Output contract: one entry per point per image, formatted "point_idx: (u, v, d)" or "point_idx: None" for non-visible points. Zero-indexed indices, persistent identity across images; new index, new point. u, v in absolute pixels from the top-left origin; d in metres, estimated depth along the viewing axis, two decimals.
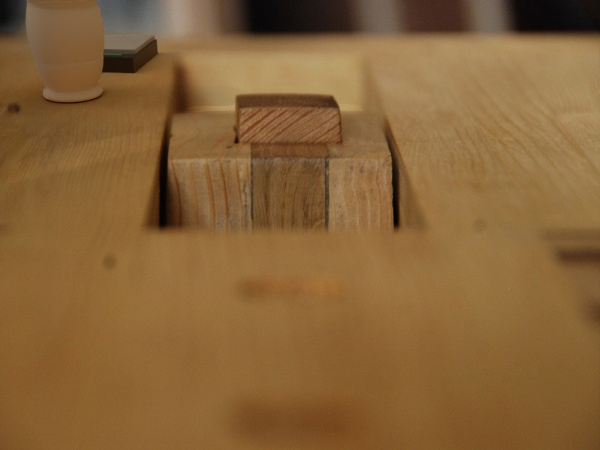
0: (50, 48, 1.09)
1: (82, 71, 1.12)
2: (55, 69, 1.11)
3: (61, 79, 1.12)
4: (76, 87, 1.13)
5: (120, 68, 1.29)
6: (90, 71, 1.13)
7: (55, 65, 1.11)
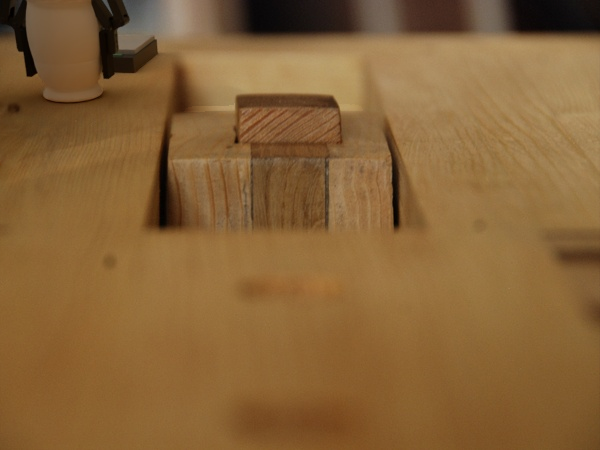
0: (50, 48, 1.09)
1: (82, 71, 1.12)
2: (55, 69, 1.11)
3: (61, 79, 1.12)
4: (76, 87, 1.13)
5: (120, 68, 1.29)
6: (90, 71, 1.13)
7: (55, 65, 1.11)
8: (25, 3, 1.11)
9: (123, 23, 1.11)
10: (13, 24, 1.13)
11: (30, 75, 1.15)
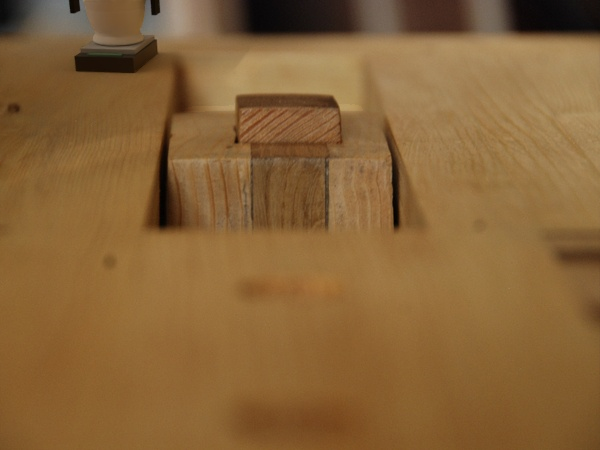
0: None
1: (128, 18, 1.30)
2: (105, 16, 1.29)
3: (110, 25, 1.30)
4: (122, 32, 1.32)
5: (120, 68, 1.29)
6: (134, 18, 1.31)
7: (105, 12, 1.29)
8: None
9: None
10: None
11: (73, 12, 1.33)
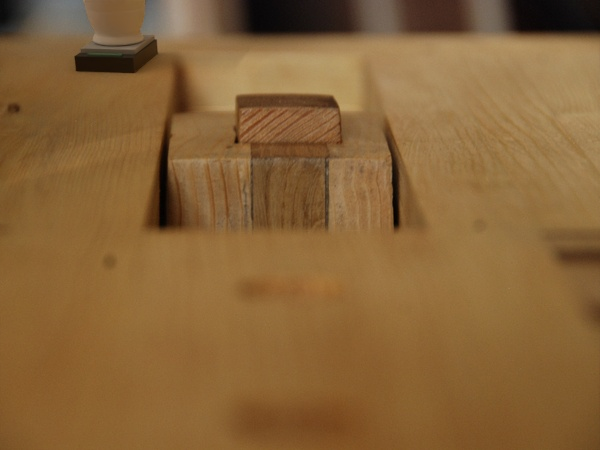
0: None
1: (128, 18, 1.30)
2: (105, 16, 1.29)
3: (110, 25, 1.30)
4: (122, 32, 1.32)
5: (120, 68, 1.29)
6: (134, 18, 1.31)
7: (105, 12, 1.29)
8: None
9: None
10: None
11: None
